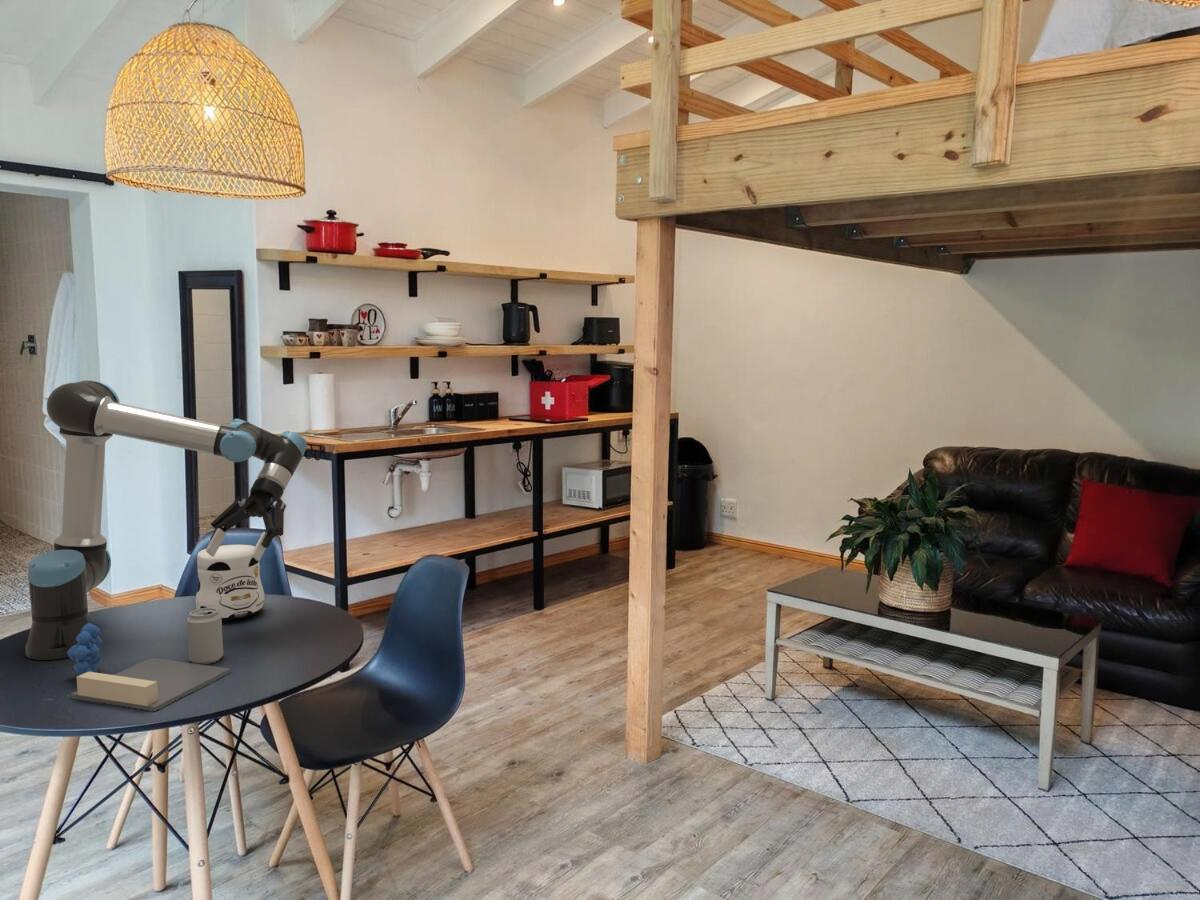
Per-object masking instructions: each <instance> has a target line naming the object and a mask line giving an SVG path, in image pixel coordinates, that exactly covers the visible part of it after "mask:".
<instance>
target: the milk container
mask: <svg viewBox="0 0 1200 900" xmlns="http://www.w3.org/2000/svg"><path fill="white" fill-rule="evenodd" d="M255 546H256V545H255ZM255 546H254V545H251V544H225V545H220V546H219V548H218V550H217V552H216V554H215V555H214V557H213V556H211V555H209V554H208V553H207V552H206V551H205V550H206V548H204V549H202V550H200V551H199V552H198V553H197V556H196V558H197V559H196V566H197V577H198V578H197V579H198V580H197V581H198V586H197V591H196V595H195V607H196V609H200V608H216V609H218V613H219V614H220V615H221V619H222V621H231V620H239V619H245V618H248V617H250V616H253V615H255V614H257V613H258V612H260V611H261V610H262V609H263V606H264V603H265V590H264V586H263V583H262V580H261V574H260V568H261V567H260V565H261V564H260V561H257V560H256V559H255V558H254V557H253V556H252V555H251V554H252V552H253V550H254V548H255Z"/></svg>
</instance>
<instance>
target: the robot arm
mask: <svg viewBox="0 0 1200 900" xmlns="http://www.w3.org/2000/svg"><path fill="white" fill-rule="evenodd" d="M46 412H47V415H48V416H49V419H50V420H51V422H53V423H54V424H55V425H56V426H57V427H59V435H60V436H61V437H62V438H63V439H64V440H65V459H64V460H65V461H64V477H63V479H64V481H63V499H62V500H63V501H62V519H61V532H60V535H58V536H57V537H56V538H54V540H53V550H51V551H48V552H46V553H41V554H38V555H36V556H34V557H33V558H32V559H31V560H30V561H29V563H28V565H27V566H28V568H27V569H28V571H27V580H28V587H29V589H28V590H29V600H30V601H29V602H30V611H31V613H30V614H31V627H30V630H29V635H28V638H27V641H26V643H25V648H24V649H25V656H26V657H27V658H28V659H31V660H36V661H51V660H52V661H53V660H61V659H67V658H68V659H69V658H70V657H69V656H68V654H67V652H68V650H69V649H70V648H71V647H72V646H74V645H77V644H78V642H77V641H76V637H77V636H78V634H79V633H80V632H81V631H80V630H81V629H82V628H83V626H84V625H85V624H87V623H91V624H93V622H92V619H91V617H90V615H89V605H88V593H89V592H90V591H92V590H93V589H95V588H96V587H98V586H100V584H101V583H103V582H104V581H105V579H106V578H107V576H108V574H109V573H110V571H111V566H112V559H111V555H110V552H109V551H108V550H107V544H108V541H107V538H106V537H105V535H103V534H102V533H101V532H102V531H101V529H102V515H103V514H102V511H103V491H104V476H105V471H104V470H105V459H106V458H105V457H106V443H107V441H109V439H111V438H112V437H113V436H114V435H115V436H120V437H126V438H130V439H135V440H141V441H146V442H151V443H155V444H160V445H165V446H170V447H175V448H180V449H185V450H189V451H195V452H200V453H204V454H209V455H214V456H218V457H223V458H225V459H226V460H228V461H230V462H233V463H240V462H246V461H247V460H249V459H251V458H252V457H253V458H256V459H259V460H260V461H263V462H265V463H264V464H263V466H262V468H261V470H260V472H259V473H258V475H257V476H256V479H255V480H254V482H253V484H252V485H251V487H250V491H249V496H248V497H247V498H242V497H241V496H240V495H239V496H236V498H235V500H234V501H233V503H231V504H230V505H229V506H228V507H227V508H226V509H225V510H224V511H223V512H222V513H220V514H219V515H218V516H217V517H216V518H215V519H214V520H212V522H211V523H210V526H211V527H212V528H213V529H214V531H213V533H212V535H211V536H210V537H209V538H210V539H209V540H210V541H209V542H208V545H207V547H206V548H205V549H206V550H205V551H206V552H207V553H208V554H209V555H211V556H213V557H214V555H215V554H216V552H217V550H218V548H219V546H222V543H223V541H224V539H225V537H226V535H227V534H226V532H227V531H228V530H230V529H231V528H233V527H234V526H236V525H237V524H239V523H241V522H242V521H243V520H245V519H249V518H250V517H251V518H255V517H258V518H262V520H263V524H264V526H265V531H266V532H265V531H263V532H262V533H261V535H260V537H259V538H258V541H257V542H256V544H255V548H254V550H253V552H252V554H251V555H252V556H253V557H254V558H255V559H256V560H257V561H259V562H260V561H261V558H262V556H263V555H264V552H265V551H266V549H268V548H269V547H270V546H271V543H272V542H273V540H274V538H275V537H277V536H279V537H282V536H283V535H284V530H285V529H284V524H285V523H284V522H285V521H284V520H285V519H284V517H285V515H284V514H285V510H286V507H287V504H286V503H285V502H284V501H283V500H282V499H281V498H282V496H283V494H284V492H285V491H286V489H287V487H288V484H289V483H290V481H291V479H292V477H293V475H294V473H295V472H296V470H297V468H298V467H299V464H300V463H301V461H302V459H303V457H304V455H305V452H306V451H307V449H308V447H307V446H308V443H307V441H306V439H305V438H304V437H303V436H302V435H301V434H299V433H297V432H295V431H290V430H285V431H283V432H281V433H280V434H279V435H277V434H274V433H272V432H270V431H268V430H265V429H263V428H261V427H259V426H256V425H255V424H253V423H250V421H245V420H243V419H240V418H234V419H233V420H232V421H231V423H230V424H229V426H227V425H222V424H219V423H212V422H208V421H203V420H200V419H195V418H189V417H186V416H180V415H175V414H172V413H171V414H170V413H166V412H162V411H158V410H152V409H147V408H143V407H139V406H133V405H131V404H130V405H129V404H125V403H120V399H119V396H118V394H117V393H116V392H115V390H114V389H113V387H111V386H109V385H108V384H106V383H103V382H101V381H96V380H81V381H76V382H69V383H63V384H61V385H60V386H57V387H56V388H55V389H53V391H51V393H50V394H49V396H48V398H47V402H46ZM273 509H274V513H273V515H274V516H273V517H272V514H271V511H273ZM272 518H273V520H272Z"/></svg>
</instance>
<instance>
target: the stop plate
mask: <svg viewBox="0 0 1200 900" xmlns="http://www.w3.org/2000/svg"><path fill="white" fill-rule="evenodd" d="M230 674H231V668H227V667H220V666H219V667H218V666H212V665H208V664H203V665H199V664H194V663H193V662H192V663H191V662H184V661H178V660H169V659H164V658H163V659H162V658H154V657H151V658H149V659H147V660H144V661H142V662H140V663H137V664H135V665H133V666H130V667H129V668H126V669H123V670H122V671H119V672H117V673H114V674H109V673H102V672H101V673H99V672H96V673H95V672H86V673H84V674H82V675H79V676H78V675H76V687H77V690H76V691H74V692H72V693H70V699H72V700H80V701H84V702H85V701H86V702H91V703H98V704H103V703H106V704H105V705H109V704H113V705H112V706H115V705H120V706H119V707H122V706H126V707H125V708H128V707H133V708H132V709H134V708H139V709H138V710H140V709H145V710H144V711H146V710H152V711H151V712H153V711H156V710H158V709H160V708H162V707H163V708H165V707H167V706H169V705H171V704H173V703H175V702H176V701H175V700H177V701H178V699H179V698H181V697H183V698H185V697H186V696H185V695H187V696H189V695H190V693H191V694H192V692H193V693H194V692H196V691H198V690H200V689H202V688H204V687H206V686H208V685H210V684H212V683H214V682H216V681H217V679H218V680H220V679H222V678H223V676H224V677H225V676H228V675H230ZM221 677H222V678H221ZM219 678H220V679H219ZM188 694H189V695H188ZM184 696H185V697H184ZM181 699H182V698H181ZM179 700H180V699H179ZM174 701H175V702H174ZM172 702H173V703H172ZM170 703H171V704H170ZM168 704H169V705H168ZM166 705H167V706H166ZM164 706H165V707H164ZM163 708H162V709H163ZM160 710H161V709H160ZM158 711H159V710H158ZM156 712H157V711H156Z"/></svg>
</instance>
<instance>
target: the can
mask: <svg viewBox="0 0 1200 900" xmlns="http://www.w3.org/2000/svg"><path fill="white" fill-rule="evenodd" d="M188 615H189V616H188V617H187V618H186V630H187V632H186V633H187V649H188V651H187V652H188V660H189V661H190V662H192V664H200V665H201V664H202V665H209V664H213V662H214V663H216V661H217V662H218V661H220V659H221V658H222V657H223V656H224V641H223V623H222V622H223V620H222V619H221V615H220V614H219V613H218V609H216V608H200V609H197V608H195V609H193V610H191V611H190V612H189V613H188Z"/></svg>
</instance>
